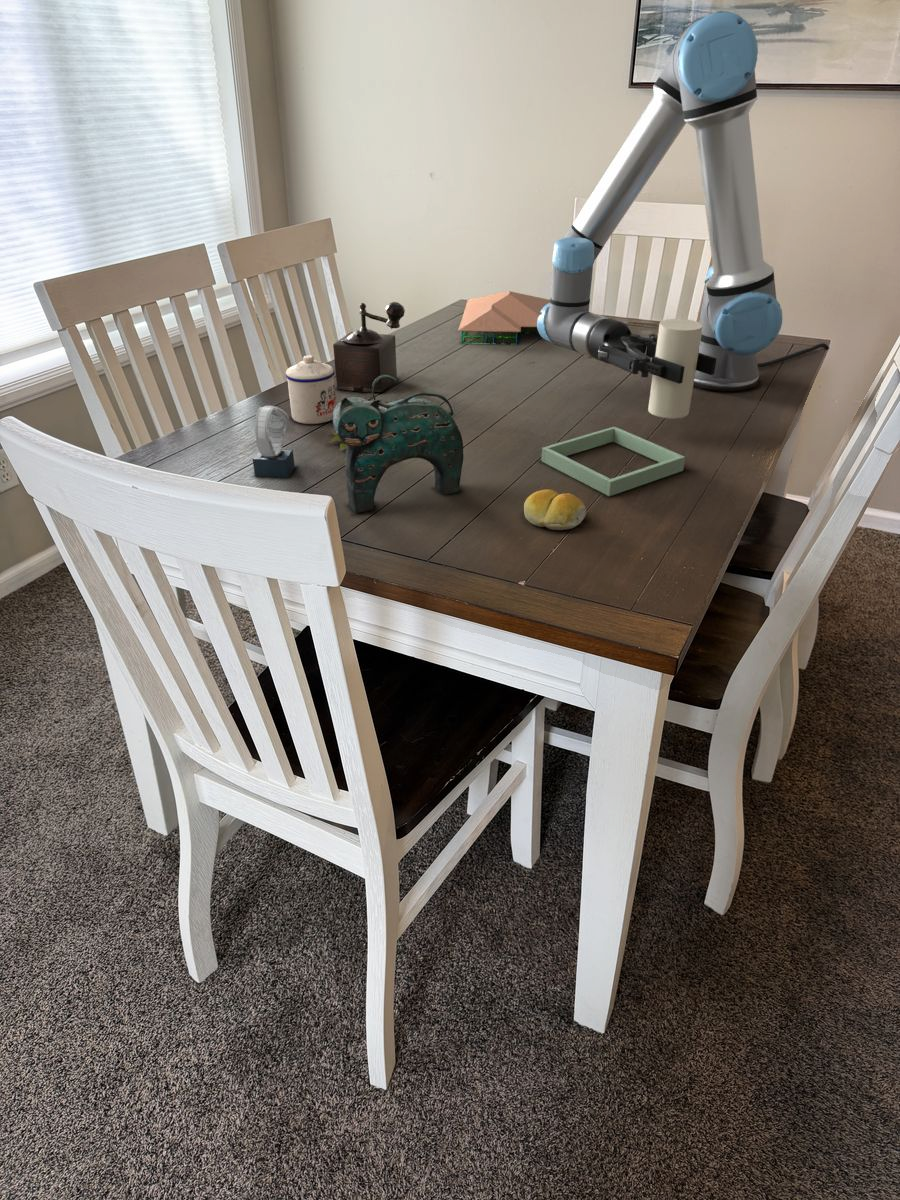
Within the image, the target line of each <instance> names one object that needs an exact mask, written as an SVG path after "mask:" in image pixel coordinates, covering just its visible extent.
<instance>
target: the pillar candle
mask: <svg viewBox="0 0 900 1200" xmlns="http://www.w3.org/2000/svg"><path fill="white" fill-rule="evenodd" d="M702 329H703V325H702V324H701V323H700V321H696V320H692V319H686V318H670V319H664V320H661V321H660V322H659V324H658V332H657V336H658V339H657V347H656V354H655V357H658V358H660V359H663V360H666V361H669V362H672V363H675V364H678V365H681V366H684V367H685V368H684V374H683V381H682V383H680V384H678V383H676V382H673V381H670V380H667V379H664V378H662V377H659V376H656V375H653V374H652V377H651V385H650V392H649V399H648V400H649V401H648V408H647V411H648V413H649V414H651V415H653V416H655V417H657V418H663V419H682V418H686V417H687V416H689V414H690V409H691V408H690V407H691V402H692V397H693V390H694V386H693V385H694V378H695V372H696V366H697V360H698V353H699V347H700V341H701V335H702Z"/></svg>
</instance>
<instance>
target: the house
mask: <svg viewBox="0 0 900 1200" xmlns="http://www.w3.org/2000/svg"><path fill="white" fill-rule="evenodd" d="M548 303H550V299H547V298H543V297H539V296H533V295H530V294H526V293H525V294H524V293H519V292H514V291H509V290H508V291H503V292H499V293H493V294H489V295H484V296H479V297H474V298H469V299H467V301H466V305H465V308H464V310H463V314H462V317H461V320H460V324H459V327H458V330H457V332H461V344H464V340H465V338H466V334H467V332H471V339H472V342H471V343H470V342H466V344H469V345H470V344H473V345H475V344H476V345H477V344H478V345H481V344H482V345H489V342H488V343H487V339H488V338H492V345H495V343H494V342H495V338H498V335H496V333H503V336H502V335H500V336H499V338H500V339H501V338H503V341H502V342H503V343H502V345H505V343H504V341H505V338H506V339H511V338H512V339H515V342H513V343H512V345H517V343H518V334H519V333H521V331H522V328H523V329H524V330H526V329H525V328H536V331H538V328H537V320H538V317H539V316H540V313H541V310H542V308H543V307H544V306H545V305H547V304H548ZM528 331H529V330H527V332H526V334H529V332H528ZM474 332H476V335H474ZM479 332H484V335H479ZM488 333H492V335H488ZM506 333H510V336H505V335H506ZM512 333H513V335H515V336H512ZM467 338H470V335H467ZM474 338H484V340H482V342H474ZM483 341H484V342H483Z"/></svg>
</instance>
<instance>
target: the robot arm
mask: <svg viewBox="0 0 900 1200" xmlns="http://www.w3.org/2000/svg"><path fill="white" fill-rule="evenodd" d="M758 55H759V45H758V40H757V37H756V34H755V31H754V30H753V28H752V26H751V24H750V23H748V21H747V20H746V19H744V18H743V17H742V16H741V15H740V14H737V13H735V12H732V11H727V10H726V11H724V10H719V11H714V12H710V13H708V14H706V15H704V16H701V17H699V18H696V20H694V21H692V22H691V23H689V25H688V26H686V27H685V29H684V30H683V31H682V33H681V34H680V35H679V37H678V39H677V40H676V42H675V44H674V47H673V49H672V51H671V53H670V55H669V57H668V59H667V61H666V64H665V65H664V67H663V69H662V71H661V73H659V76H658V77H657V79H656V80H655V83H654V84H653V86H652V89H653V90H652V91H653V96H652V97H651V99H650V101H649V103H648V104H647V105H646V108H645V109H644V111H643V112H642V114H641V115H640V117H639V119H638V120H637V121H636V123H635V125H634V126H633V128H632V130H631V131H630V133H629V134H628V135H627V138H626V139H625V140H624V142H623V144H622V145H621V146H620V149H618V152H617V153H616V155H615V156H614V158H613V160H612V161H611V163H610V164H609V165H608V168H606V171H605V172H604V174H603V176H602V177H601V178H600V180H599V182H598V183H597V184H596V187H594V190H593V191H592V193H591V194H590V196H589V197H588V199H587V200H586V202H585V204H584V205H583V207H582V208H581V210H580V211H579V214H577V216H576V218H575V219H574V221H573V223H572V225H571V226H570V228H569V229H568V230H567V232H566V234H565V236H564V237H561V238H560V239H559V238H558V239H557V240H556V241H555V242H554V244H553V252H552V256H551V257H552V258H551V266H552V267H551V283H550V285H551V286H550V299H549V300H550V303H548V304H547V305H545V306H544V307H543V308H542V310H541V313H540V316H539V317H538V320H537V327H536V329H537V328H538V330H537V333H538V334H539V335H540V337H541V338H542V339H543V340H545V341H547V342H550V343H551V344H553V345H555V346H557V347H560V348H565V349H567V350H570V351H573V352H576V353H579V354H582V355H585V356H587V358H588V359H589V360H590V359H595V360H597V361H600V362H603V363H606V364H608V365H613V366H615V367H616V368H618V369H621V370H623V371H625V372H628V373H630V374H632V375H638V374H639V372H640V373H641V374H640V375H641V376H640V377H641V378H643V379H644V378H649V374H650V375H652V376H653V375H656V376H659V377H662V378H664V379H667V380H670V381H673V382H676V383H678V384H680V383H682V381H683V374H684V368H685V367H684V366H681V365H678V364H675V363H672V362H669V361H666V360H663V359H660V358H658V357H655V354H656V347H657V339H658V334H655V333H651V334H649V337H646V336H645V337H644V336H641V335H640V334H635V333H632V332H631V329H630V327H629V326H628V325H627V324H626V322H624V321H620V320H617V319H613V318H610V317H607V316H604V315H601V314H598V313H594V312H590V303H591V290H592V283H593V282H592V281H593V271H594V264H595V261H596V259H597V258H598V256H599V255H600V253H601V252H602V250H603V249H604V247H605V245H606V244H607V242H608V241H609V239H610V238H611V236H612V235H613V233H614V232H615V230H616V229H617V227H618V225H619V224H620V222H621V221H622V220H623V218H624V216H625V215H626V214H627V212H628V211H629V209H630V208H631V206H632V205H633V203H634V202H635V200H636V199H637V197H638V196H639V195H640V193H641V192H642V191H643V189H644V187H645V185H646V184H647V183H648V181H649V180H650V178H651V177H652V175H653V174H654V172H655V170H656V169H657V168H658V166H659V165H660V163H661V161H662V160H663V159H664V157H665V156H666V154H667V153H668V151H669V150H670V148H671V147H672V145H673V144H674V142H675V141H676V139H677V138H678V137H679V135H680V133H681V132H682V130H683V129H684V127H685V126H686V124H687V125H688V126H691V127H692V128H693V129H694V132H695V138H696V140H695V141H696V146H697V147H696V148H697V156H698V162H699V170H700V179H701V186H702V193H703V194H702V195H703V201H704V208H705V209H704V210H705V216H706V223H707V231H708V239H709V248H710V254H711V261H712V265H711V266H710V267H708V269H707V273H706V277H705V279H704V291H703V298H702V304H701V310H700V311H701V312H700V318H699V323H701V324H702V325H703V329H702V335H701V341H700V347H699V353H698V360H697V366H696V372H695V378H694V385H693V387H695V388H698V389H703V390H707V391H713V392H714V391H715V392H741V391H746V390H751V389H753V388H755V387H756V386H757V385H758V382H759V377H760V371H759V368H764V367H769V366H773V365H775V364H779V363H782V362H784V361H788V360H791V359H794V358H796V357H798V356H801V355H804V354H807V353H811V352H813V351H816V350H818V349H819V348H824V350H830V347H829V345H828V344H827V343H824V342H823V343H822V342H821V343H818V344H816V345H813V346H811V347H807V348H804V349H801V350H799V351H796V352H794V353H791V354H787V355H785V356H781V357H780V358H775V359H772V360H768V361H765V362H759V363H758V356H757V354H758V353H759V352H761V351H764V350H765V349H766V348H768V347H769V346H770V345H771V344H772V343H773V342H774V341H775V340H776V338H777V337H778V335H779V334H780V331H781V329H782V326H783V310H782V307H781V304H780V302H779V301H778V299H777V291H776V279H775V270H774V267H773V266H772V265H770V264H769V263H767V262H766V261H765V260H764V251H763V243H762V232H761V222H760V213H759V212H760V211H759V203H758V192H757V183H756V182H757V181H756V173H755V171H756V170H755V163H754V153H753V144H752V143H753V142H752V141H753V140H752V134H751V132H752V131H751V124H750V111H751V109H752V108H753V106H754V104H755V102H756V101H757V100H758V93H757V81H756V80H757V79H756V70H755V69H756V67H757V62H758Z"/></svg>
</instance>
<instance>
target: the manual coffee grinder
mask: <svg viewBox="0 0 900 1200" xmlns="http://www.w3.org/2000/svg"><path fill="white" fill-rule="evenodd" d="M366 308H367V304H366V303H364V302H361V303H360V304H359V309H360V310H359V312H358V313H359V314H360V321H361V327H360V329H357V330H355V331H351V332H349V333H347V334H346V335H344V336H343V337H342V338H340V339H338V340H337V341H336V342H334V343H333V345H332V347H333V359H334V369H335V370H334V372H335V380H336V390H339V391H348V392H349V391H350V392H360V393H372V385H373V382H374V380H375V379H376V378H378V377H379V376H382V375H389V376H392V377H393V378H395V379H396V380H397V378H398V371H397V349H396V345H397V344H396V335H395V334H385V333H378V332H377V331H375V330H372V329H369V328H368V327H367V318H369V319H371V320H374V321H378V322H382V323H385V324H386V327H389V328H390V329H391V330H393V329H399V328H400V327H401V325H400V320H401V319H402V318H403V317H404V316H405V312H406V309H405V307H404V305H402V304H401V303H399V302H397V301H392V302H390V303H389V304H387V305H386V306H385V313H386V315H387V317H388V318H386V317H383V316H380V315H375V314H372V313H370V312H367V309H366ZM394 383H395V382H394V381H393V380H392V379H390V378H381V379H379V380H378V381H377V382H376V383H375V385H374V393H383V392H384V391H386V390H388V389H389V388H390V387H391V386H392V385H393V384H394Z"/></svg>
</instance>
